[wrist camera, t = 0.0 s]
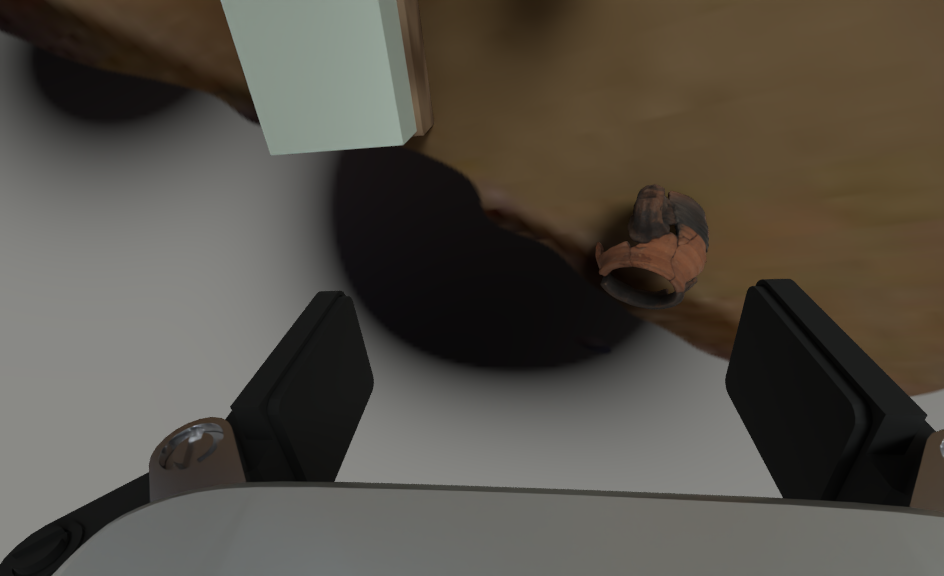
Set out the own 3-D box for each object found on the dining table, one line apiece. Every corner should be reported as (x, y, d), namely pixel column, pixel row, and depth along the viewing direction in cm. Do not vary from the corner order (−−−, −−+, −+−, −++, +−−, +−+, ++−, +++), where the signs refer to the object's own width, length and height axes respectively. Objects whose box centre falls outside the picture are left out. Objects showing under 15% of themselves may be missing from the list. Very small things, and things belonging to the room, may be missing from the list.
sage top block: (255, -5, 32) (218, -8, 28) (392, -23, 30) (373, -29, 26) (297, 141, 37) (270, 155, 33) (416, 131, 35) (403, 145, 31)
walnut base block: (279, -12, 36) (246, -16, 31) (415, -29, 34) (398, -36, 30) (317, 132, 41) (292, 145, 37) (434, 122, 40) (423, 135, 35)
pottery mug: (718, 248, 43) (703, 321, 39) (619, 244, 48) (598, 308, 45) (710, 149, 34) (690, 231, 31) (591, 158, 40) (562, 229, 36)
